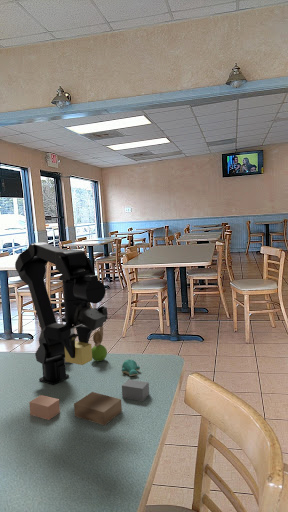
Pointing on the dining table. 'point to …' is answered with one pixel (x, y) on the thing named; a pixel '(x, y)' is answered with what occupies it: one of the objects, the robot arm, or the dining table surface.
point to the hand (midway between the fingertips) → (78, 355)
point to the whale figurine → (130, 367)
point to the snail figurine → (98, 346)
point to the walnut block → (98, 408)
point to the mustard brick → (80, 353)
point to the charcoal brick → (135, 390)
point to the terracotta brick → (44, 407)
